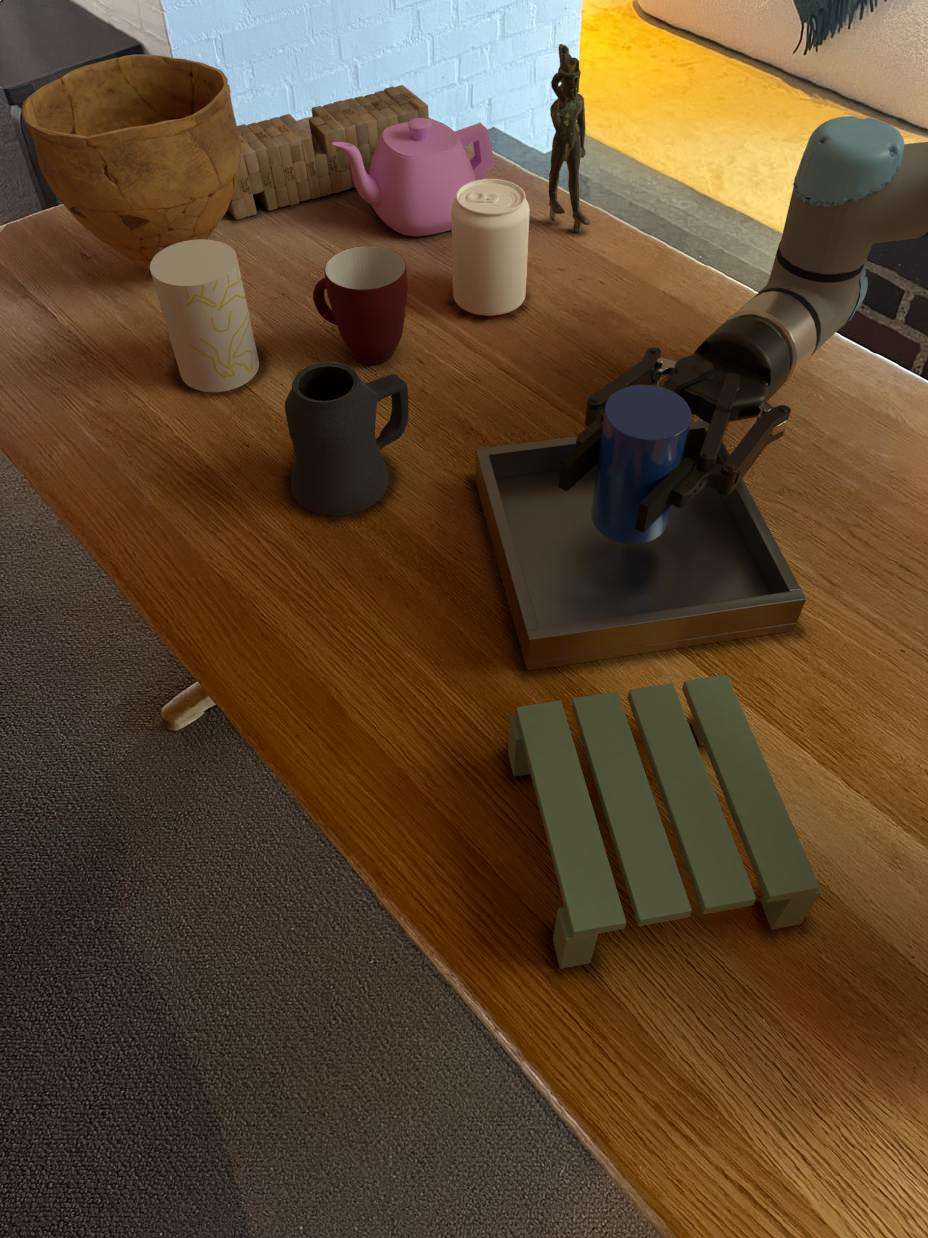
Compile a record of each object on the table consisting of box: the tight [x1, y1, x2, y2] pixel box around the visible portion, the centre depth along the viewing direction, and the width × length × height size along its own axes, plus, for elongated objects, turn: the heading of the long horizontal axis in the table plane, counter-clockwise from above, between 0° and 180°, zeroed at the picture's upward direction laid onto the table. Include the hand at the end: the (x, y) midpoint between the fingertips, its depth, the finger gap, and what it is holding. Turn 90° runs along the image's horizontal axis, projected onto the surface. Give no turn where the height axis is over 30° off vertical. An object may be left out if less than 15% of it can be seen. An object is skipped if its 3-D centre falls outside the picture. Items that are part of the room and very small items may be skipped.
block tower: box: [226, 84, 430, 221], centre depth 122 cm, size 8×8×29 cm
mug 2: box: [284, 361, 410, 517], centre depth 85 cm, size 12×9×11 cm
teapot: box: [332, 118, 496, 237], centre depth 115 cm, size 13×20×11 cm
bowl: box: [21, 54, 241, 271], centre depth 104 cm, size 21×20×20 cm
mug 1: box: [312, 245, 409, 366], centre depth 98 cm, size 10×8×10 cm
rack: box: [507, 674, 822, 970], centre depth 64 cm, size 16×16×6 cm
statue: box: [548, 43, 592, 234], centre depth 109 cm, size 5×6×20 cm
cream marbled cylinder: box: [149, 239, 260, 393], centre depth 95 cm, size 8×8×12 cm
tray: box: [475, 420, 807, 672], centre depth 81 cm, size 22×22×4 cm
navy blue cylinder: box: [591, 384, 692, 544], centre depth 75 cm, size 6×6×11 cm
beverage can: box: [451, 178, 531, 317], centre depth 103 cm, size 8×8×12 cm
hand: (602, 496), depth 73 cm, fingers closed on navy blue cylinder, 6 cm apart
